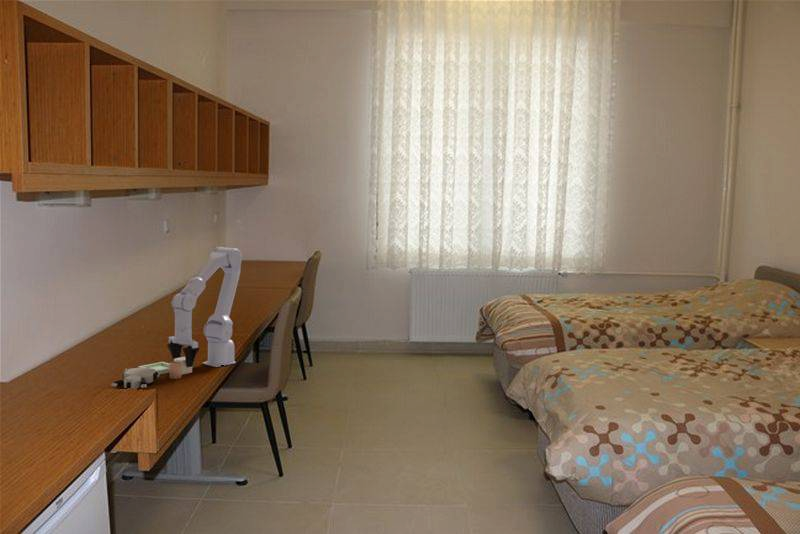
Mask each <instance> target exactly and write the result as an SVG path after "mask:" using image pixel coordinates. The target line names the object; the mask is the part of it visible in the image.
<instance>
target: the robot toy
mask: <svg viewBox="0 0 800 534" xmlns="http://www.w3.org/2000/svg"><path fill="white" fill-rule="evenodd" d="M161 372H162V370H161V371H160V373H161ZM160 373H159V375H158V372H157V371H156V370H155V369H151V368H138V367H132V368H125V370H124V371H123V373H121V377H122V379H118V380H115V381H114V382H112V383H111V387H115V388H119V387H122V386H123V387H124V389H125V388H133V389H137V390H139V388H141V389H145V388H147V385H149V384H151V383H153V382H154V381H156V379H158V378H159V377H160V375H161V374H160Z"/></svg>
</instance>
